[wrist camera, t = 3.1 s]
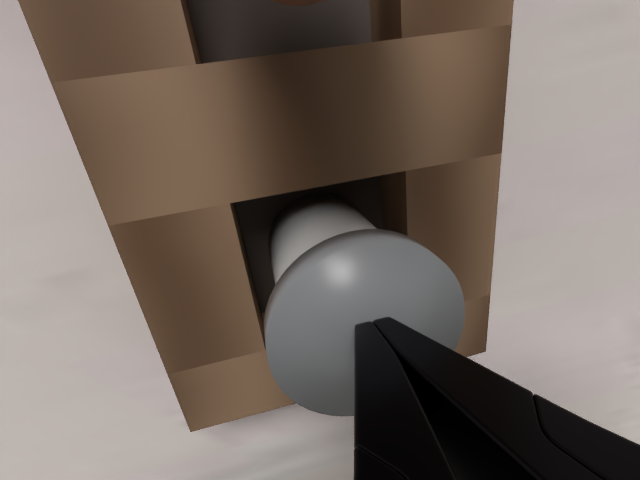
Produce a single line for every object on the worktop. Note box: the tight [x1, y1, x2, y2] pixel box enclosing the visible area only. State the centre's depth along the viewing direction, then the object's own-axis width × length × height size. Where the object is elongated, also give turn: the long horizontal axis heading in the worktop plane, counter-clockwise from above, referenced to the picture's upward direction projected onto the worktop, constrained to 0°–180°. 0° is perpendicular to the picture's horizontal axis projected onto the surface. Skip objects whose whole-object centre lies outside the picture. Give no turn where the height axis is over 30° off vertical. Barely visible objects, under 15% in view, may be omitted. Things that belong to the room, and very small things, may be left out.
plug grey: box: [264, 194, 465, 416], centre depth 11 cm, size 5×5×6 cm
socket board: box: [18, 0, 514, 432], centre depth 11 cm, size 12×20×2 cm, turn 7°
